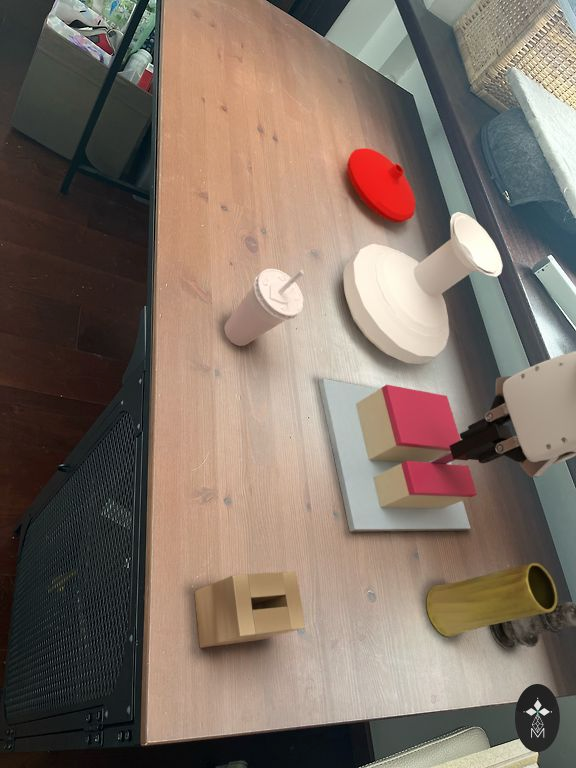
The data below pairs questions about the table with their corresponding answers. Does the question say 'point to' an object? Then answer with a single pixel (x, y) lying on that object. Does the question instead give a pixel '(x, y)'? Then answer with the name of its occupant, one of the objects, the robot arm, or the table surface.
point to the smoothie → (265, 306)
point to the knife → (474, 443)
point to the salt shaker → (534, 626)
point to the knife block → (248, 608)
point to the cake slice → (424, 485)
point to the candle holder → (414, 290)
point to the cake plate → (372, 471)
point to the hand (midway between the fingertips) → (471, 447)
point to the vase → (491, 599)
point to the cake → (406, 425)
